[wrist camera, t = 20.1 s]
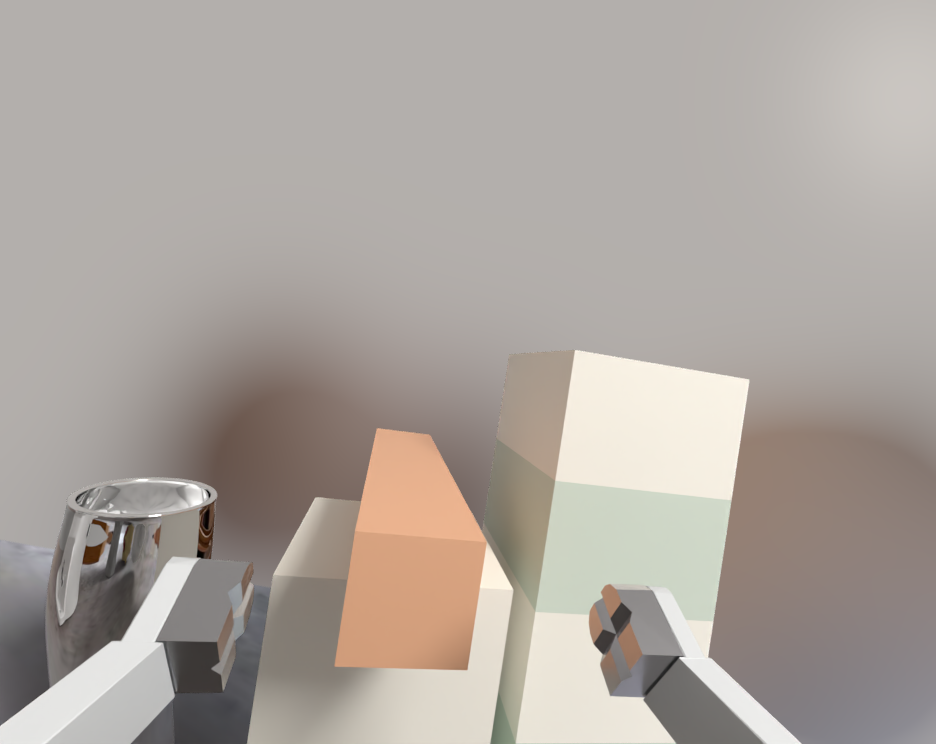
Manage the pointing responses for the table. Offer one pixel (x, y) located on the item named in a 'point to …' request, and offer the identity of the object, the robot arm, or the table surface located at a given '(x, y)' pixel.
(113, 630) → the beer glass
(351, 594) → the long brick
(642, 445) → the tall tower
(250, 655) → the table surface
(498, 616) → the short tower
